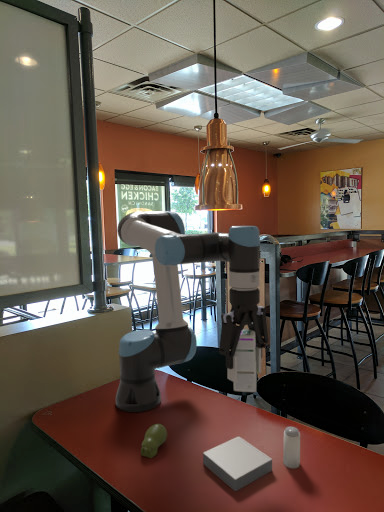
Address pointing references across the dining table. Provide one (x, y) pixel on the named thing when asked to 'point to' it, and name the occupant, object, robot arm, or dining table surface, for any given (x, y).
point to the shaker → (291, 447)
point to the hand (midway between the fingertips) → (244, 375)
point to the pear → (153, 440)
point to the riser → (237, 462)
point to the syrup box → (246, 362)
